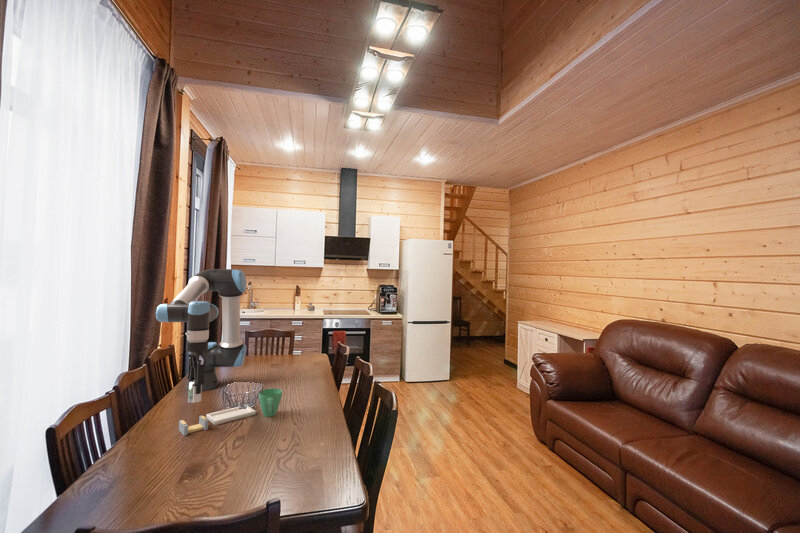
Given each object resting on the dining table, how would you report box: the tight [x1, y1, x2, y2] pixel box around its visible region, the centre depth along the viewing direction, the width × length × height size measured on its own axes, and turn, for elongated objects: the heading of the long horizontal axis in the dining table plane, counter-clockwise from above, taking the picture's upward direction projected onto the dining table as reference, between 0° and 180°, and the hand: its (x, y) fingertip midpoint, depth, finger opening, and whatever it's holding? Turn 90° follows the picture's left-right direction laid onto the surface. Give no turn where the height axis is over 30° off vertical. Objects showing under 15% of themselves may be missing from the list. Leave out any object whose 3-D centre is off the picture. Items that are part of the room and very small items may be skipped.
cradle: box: [178, 415, 209, 437], centre depth 141 cm, size 7×8×4 cm
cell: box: [187, 380, 197, 404], centre depth 141 cm, size 4×4×8 cm
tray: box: [205, 405, 257, 426], centre depth 155 cm, size 10×17×2 cm, turn 136°
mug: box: [258, 387, 283, 418], centre depth 157 cm, size 15×10×10 cm
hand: (194, 399), depth 141 cm, fingers closed on cell, 4 cm apart
